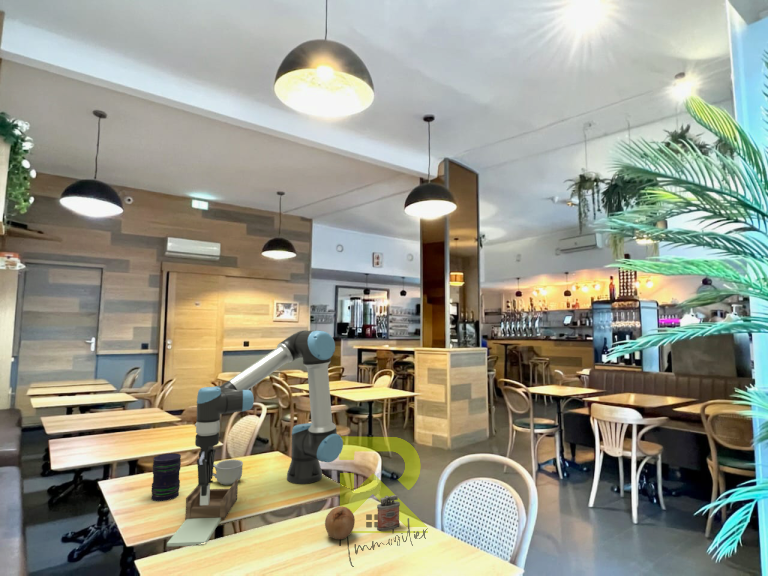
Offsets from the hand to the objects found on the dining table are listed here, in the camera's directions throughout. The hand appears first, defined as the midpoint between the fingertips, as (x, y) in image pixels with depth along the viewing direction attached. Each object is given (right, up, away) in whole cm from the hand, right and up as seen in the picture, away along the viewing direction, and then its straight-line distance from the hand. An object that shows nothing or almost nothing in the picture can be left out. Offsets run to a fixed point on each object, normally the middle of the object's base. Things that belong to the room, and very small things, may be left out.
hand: (204, 504), depth 148 cm
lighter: (+63, -6, -4) cm, 63 cm away
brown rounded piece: (+47, -5, -10) cm, 48 cm away
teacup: (-6, -9, +37) cm, 39 cm away
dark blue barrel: (-24, -8, +21) cm, 33 cm away
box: (-1, -7, +9) cm, 12 cm away
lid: (0, -6, -8) cm, 10 cm away
